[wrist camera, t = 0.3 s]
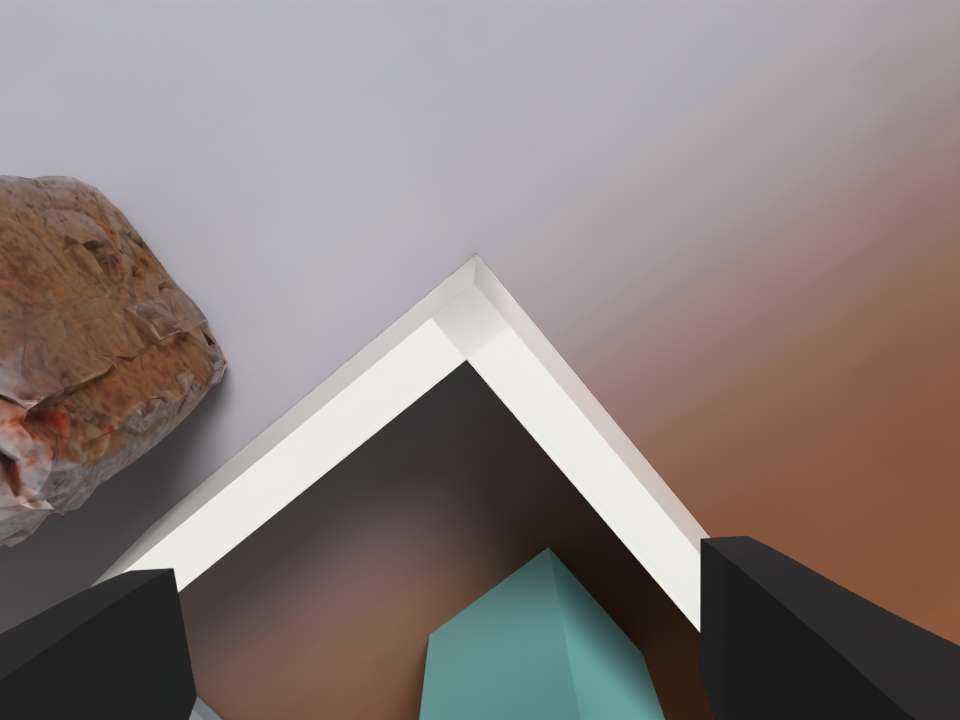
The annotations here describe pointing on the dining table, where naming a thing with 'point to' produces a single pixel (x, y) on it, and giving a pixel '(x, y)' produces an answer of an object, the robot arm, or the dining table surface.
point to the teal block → (536, 656)
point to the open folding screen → (396, 385)
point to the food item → (85, 349)
